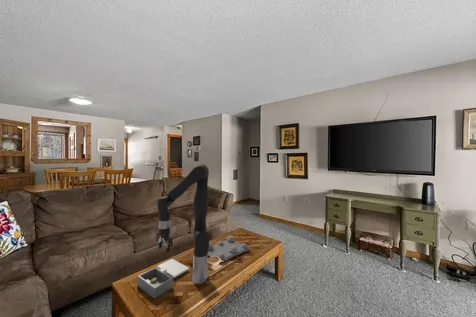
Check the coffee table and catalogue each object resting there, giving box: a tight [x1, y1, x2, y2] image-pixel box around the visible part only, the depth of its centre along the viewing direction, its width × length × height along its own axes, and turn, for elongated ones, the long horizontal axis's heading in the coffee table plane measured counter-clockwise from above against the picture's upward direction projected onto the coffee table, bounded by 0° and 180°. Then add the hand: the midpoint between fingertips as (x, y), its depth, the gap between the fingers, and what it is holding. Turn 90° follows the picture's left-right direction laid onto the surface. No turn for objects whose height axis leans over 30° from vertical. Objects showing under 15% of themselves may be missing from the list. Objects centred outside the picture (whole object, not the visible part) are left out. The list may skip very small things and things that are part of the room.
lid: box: [156, 258, 190, 279], centre depth 141 cm, size 17×19×4 cm
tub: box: [136, 266, 174, 300], centre depth 124 cm, size 12×18×6 cm, turn 55°
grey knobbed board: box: [208, 235, 251, 262], centre depth 173 cm, size 35×26×10 cm
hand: (164, 250), depth 135 cm, fingers open, 8 cm apart
